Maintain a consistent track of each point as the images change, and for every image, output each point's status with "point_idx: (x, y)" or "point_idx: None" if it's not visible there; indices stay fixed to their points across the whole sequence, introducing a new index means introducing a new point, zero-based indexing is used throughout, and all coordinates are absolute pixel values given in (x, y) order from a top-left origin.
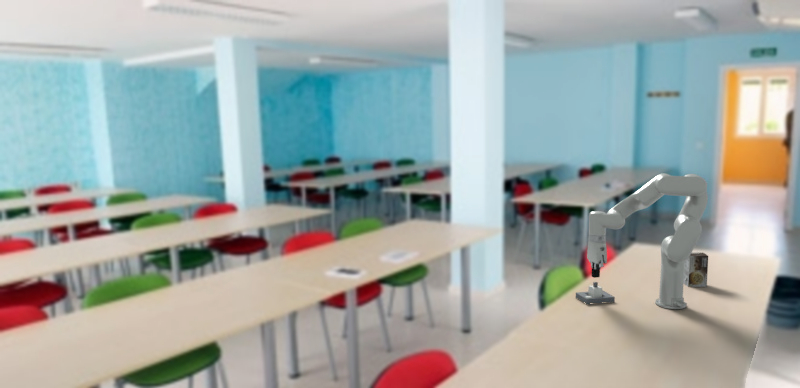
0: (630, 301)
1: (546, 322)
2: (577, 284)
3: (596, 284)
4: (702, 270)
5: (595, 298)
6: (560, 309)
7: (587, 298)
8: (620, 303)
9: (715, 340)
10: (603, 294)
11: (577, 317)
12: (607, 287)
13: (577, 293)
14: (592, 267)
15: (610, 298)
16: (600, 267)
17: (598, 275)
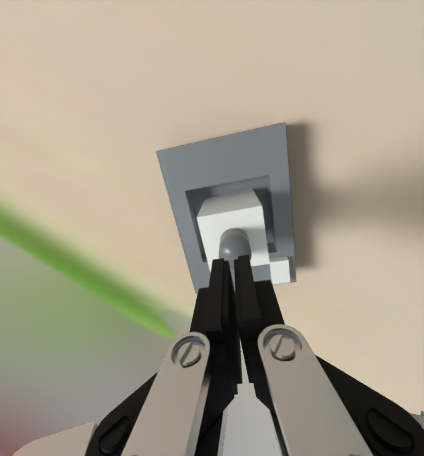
0: (279, 4)
1: None
2: (8, 213)
3: (250, 248)
4: None
5: (292, 241)
6: None
7: (289, 277)
8: (303, 96)
9: None
10: (232, 175)
11: (416, 339)
12: (13, 62)
13: None
14: (226, 405)
15: (285, 151)
16: (354, 381)
17: (271, 283)
